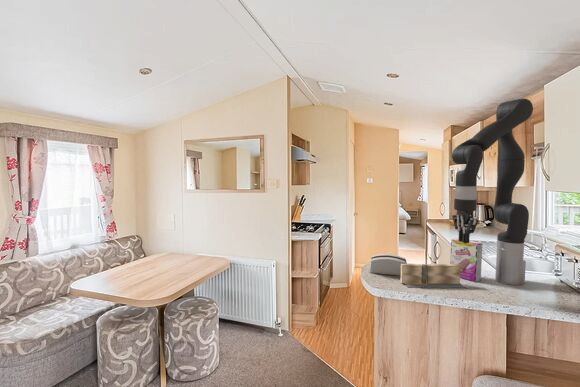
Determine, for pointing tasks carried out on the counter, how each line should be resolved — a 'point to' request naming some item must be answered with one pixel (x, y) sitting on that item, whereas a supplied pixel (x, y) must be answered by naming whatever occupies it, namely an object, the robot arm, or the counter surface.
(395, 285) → the counter surface
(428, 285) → the mat
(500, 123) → the robot arm
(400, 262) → the white plastic device
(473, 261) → the candy bar box
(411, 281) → the fence fixed
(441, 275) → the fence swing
